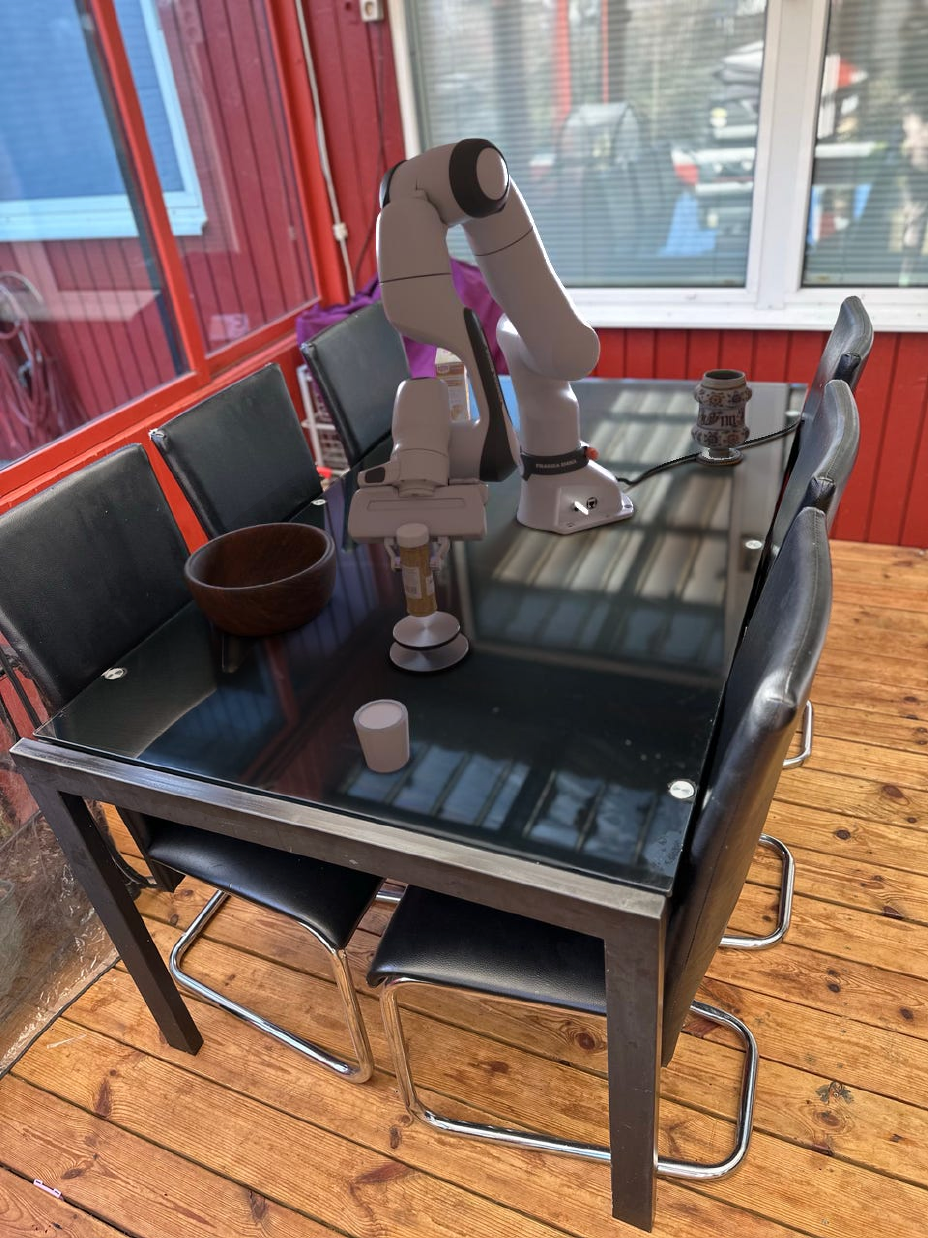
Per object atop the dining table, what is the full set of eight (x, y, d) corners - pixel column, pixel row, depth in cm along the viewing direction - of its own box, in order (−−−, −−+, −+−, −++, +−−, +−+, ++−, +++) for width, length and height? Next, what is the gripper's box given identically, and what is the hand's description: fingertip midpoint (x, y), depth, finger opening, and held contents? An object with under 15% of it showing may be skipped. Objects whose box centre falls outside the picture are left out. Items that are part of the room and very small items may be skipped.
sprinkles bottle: (443, 611, 131) (434, 529, 124) (416, 622, 129) (405, 539, 122) (427, 599, 134) (417, 518, 127) (401, 610, 132) (389, 528, 125)
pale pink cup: (362, 744, 117) (353, 702, 114) (413, 738, 117) (406, 695, 114) (360, 779, 111) (352, 735, 108) (415, 772, 111) (408, 728, 108)
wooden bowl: (275, 661, 137) (261, 603, 132) (166, 627, 149) (150, 573, 144) (373, 588, 154) (364, 534, 149) (268, 562, 167) (257, 513, 162)
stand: (460, 626, 141) (458, 602, 138) (475, 666, 131) (473, 641, 128) (386, 639, 139) (382, 615, 137) (395, 681, 129) (391, 656, 127)
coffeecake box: (471, 442, 213) (464, 361, 203) (442, 444, 213) (433, 363, 203) (472, 422, 226) (465, 344, 216) (444, 424, 226) (436, 347, 216)
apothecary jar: (755, 451, 192) (762, 368, 183) (737, 470, 183) (743, 384, 174) (701, 444, 198) (705, 364, 189) (681, 463, 190) (684, 380, 180)
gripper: (492, 485, 132) (490, 574, 129) (358, 490, 135) (353, 577, 132) (486, 468, 126) (484, 562, 122) (347, 473, 129) (341, 565, 126)
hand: (415, 570), depth 127 cm, fingers closed on sprinkles bottle, 4 cm apart
